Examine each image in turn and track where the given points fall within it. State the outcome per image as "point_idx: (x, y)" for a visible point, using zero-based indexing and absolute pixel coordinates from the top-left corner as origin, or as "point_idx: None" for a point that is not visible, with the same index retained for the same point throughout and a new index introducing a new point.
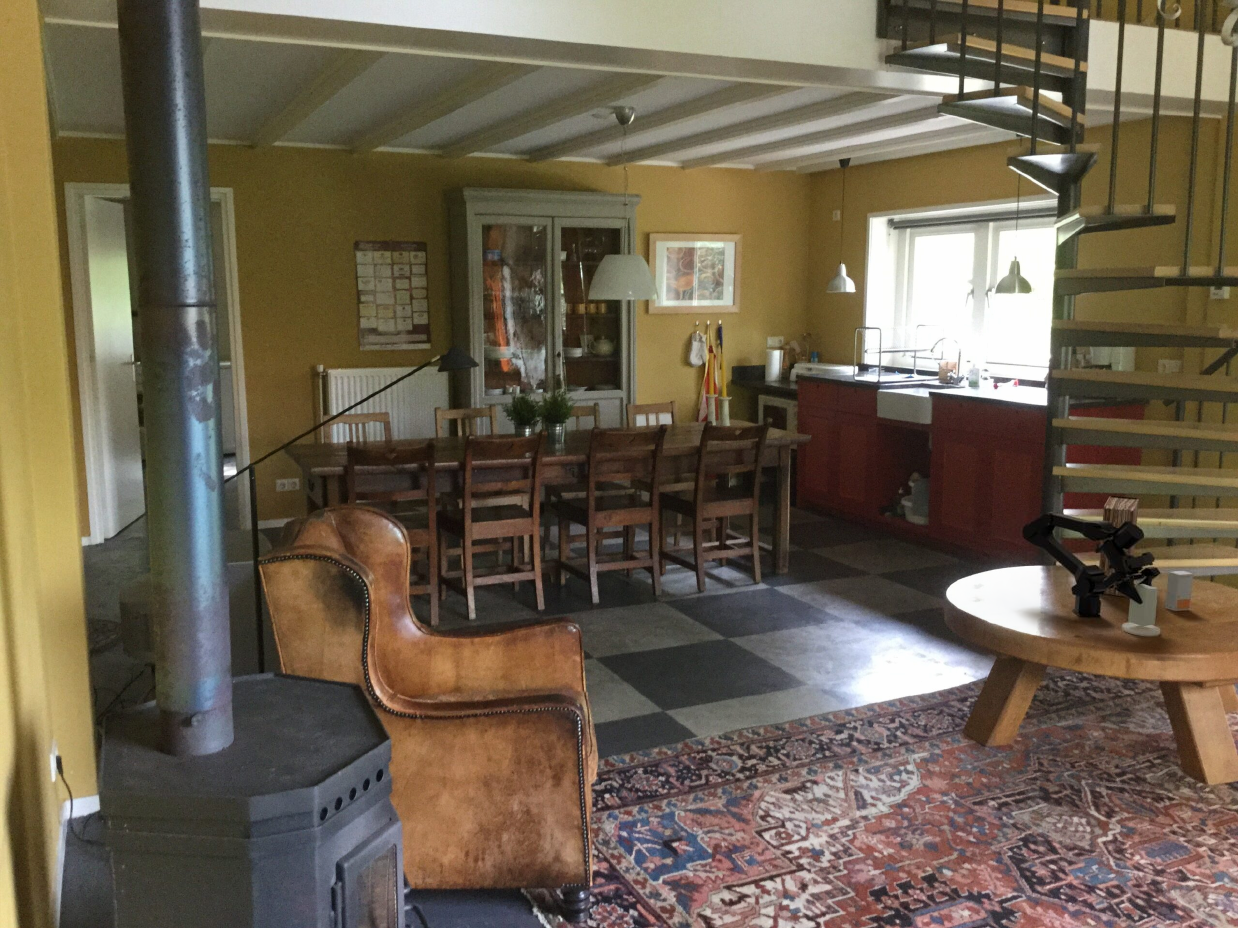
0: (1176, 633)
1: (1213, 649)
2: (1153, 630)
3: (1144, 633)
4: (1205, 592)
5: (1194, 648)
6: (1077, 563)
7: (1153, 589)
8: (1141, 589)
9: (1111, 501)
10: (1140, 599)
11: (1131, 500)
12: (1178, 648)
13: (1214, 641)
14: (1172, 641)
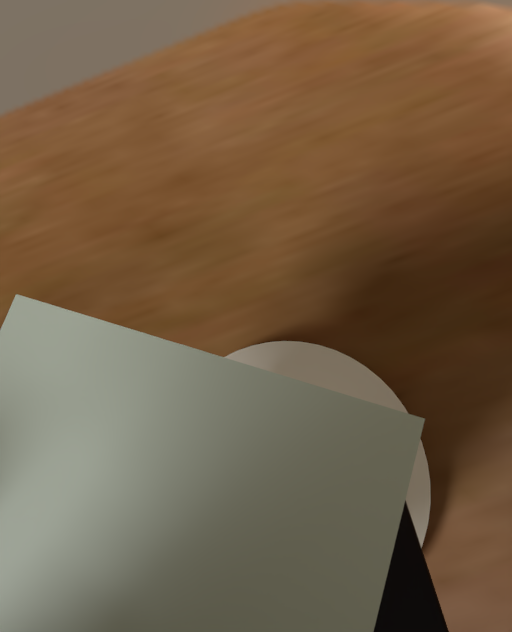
0: (162, 287)
1: (335, 38)
2: (298, 375)
3: (402, 406)
4: None
5: (407, 97)
6: None
7: (160, 338)
8: (383, 581)
9: None
10: (401, 518)
11: None
12: (497, 147)
13: (173, 100)
14: (366, 232)
